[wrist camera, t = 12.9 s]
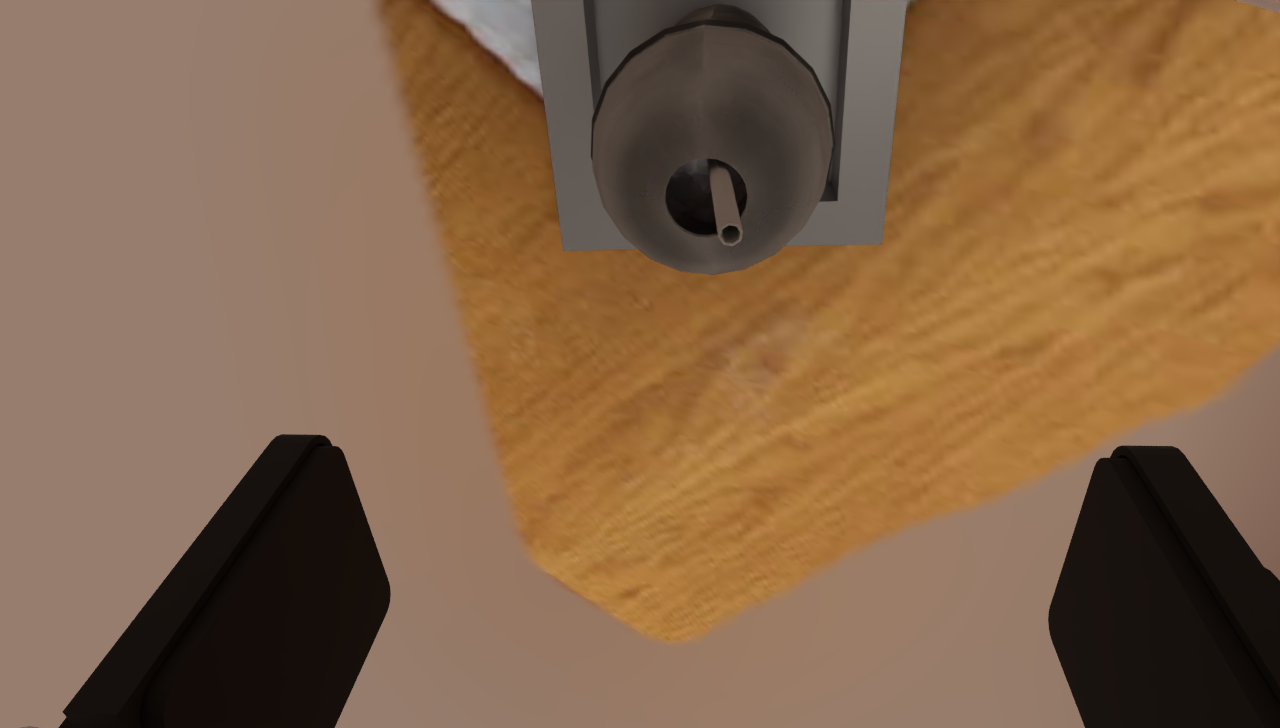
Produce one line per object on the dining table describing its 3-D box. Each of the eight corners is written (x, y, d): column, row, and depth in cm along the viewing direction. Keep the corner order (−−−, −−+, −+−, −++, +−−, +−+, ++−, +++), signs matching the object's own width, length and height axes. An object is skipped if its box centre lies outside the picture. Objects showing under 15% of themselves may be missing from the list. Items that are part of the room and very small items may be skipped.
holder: (534, -112, 31) (517, -108, 29) (904, -139, 30) (920, -139, 27) (574, 224, 39) (563, 250, 36) (871, 217, 37) (882, 244, 35)
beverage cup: (601, 90, 35) (471, 319, 18) (692, -74, 31) (637, 22, 14) (741, 178, 36) (742, 466, 19) (844, 32, 32) (957, 233, 16)
